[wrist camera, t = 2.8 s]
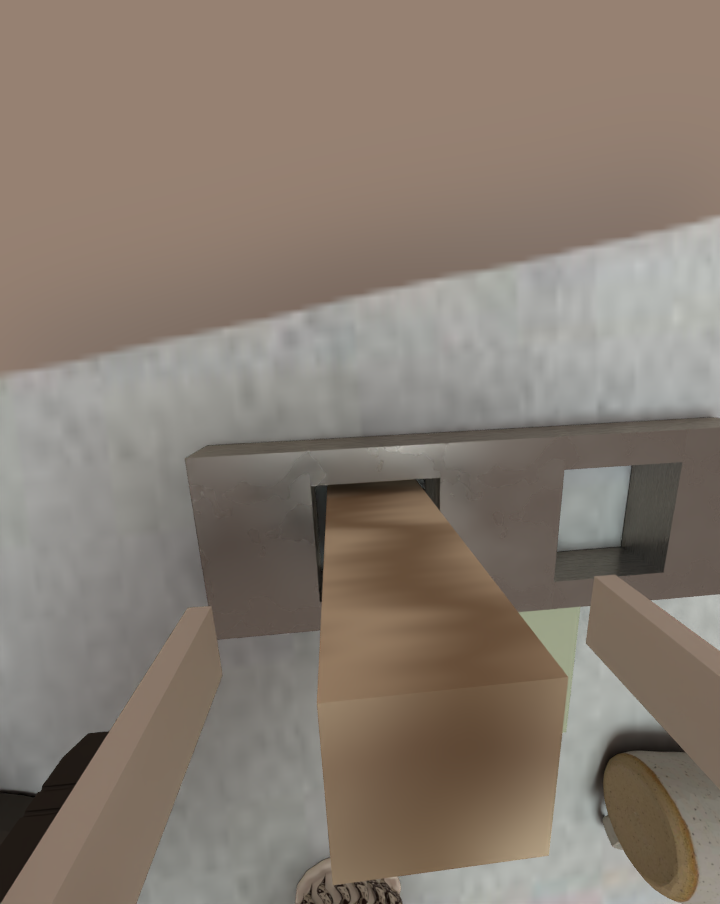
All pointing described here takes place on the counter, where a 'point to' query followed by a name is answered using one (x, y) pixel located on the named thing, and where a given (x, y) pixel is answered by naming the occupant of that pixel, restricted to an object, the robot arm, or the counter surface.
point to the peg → (427, 696)
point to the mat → (557, 639)
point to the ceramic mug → (666, 822)
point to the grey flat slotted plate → (460, 513)
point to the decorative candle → (345, 889)
